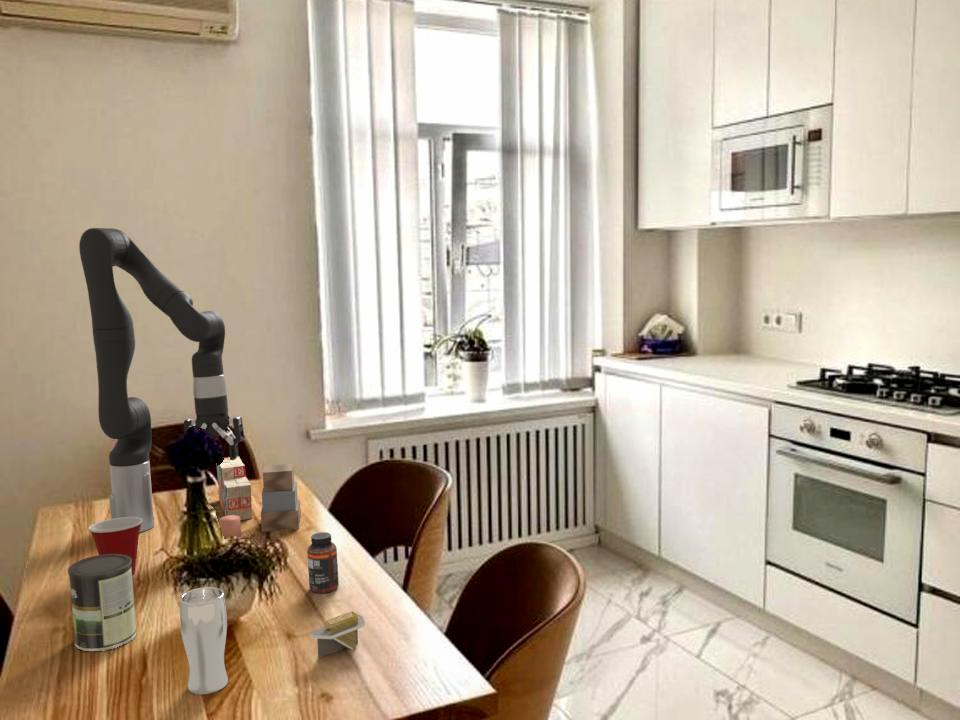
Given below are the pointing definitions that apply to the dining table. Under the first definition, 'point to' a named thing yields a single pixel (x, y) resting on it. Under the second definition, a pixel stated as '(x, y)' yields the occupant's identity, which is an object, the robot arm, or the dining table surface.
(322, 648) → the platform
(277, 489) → the tower top
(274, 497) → the tower middle
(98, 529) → the plastic cup
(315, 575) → the supplement bottle
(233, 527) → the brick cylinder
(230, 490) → the stack of blocks
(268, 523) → the tower bottom
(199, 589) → the beer glass
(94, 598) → the coffee can
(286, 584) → the dining table surface
